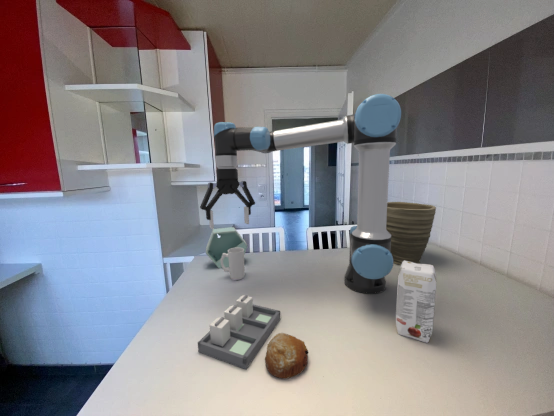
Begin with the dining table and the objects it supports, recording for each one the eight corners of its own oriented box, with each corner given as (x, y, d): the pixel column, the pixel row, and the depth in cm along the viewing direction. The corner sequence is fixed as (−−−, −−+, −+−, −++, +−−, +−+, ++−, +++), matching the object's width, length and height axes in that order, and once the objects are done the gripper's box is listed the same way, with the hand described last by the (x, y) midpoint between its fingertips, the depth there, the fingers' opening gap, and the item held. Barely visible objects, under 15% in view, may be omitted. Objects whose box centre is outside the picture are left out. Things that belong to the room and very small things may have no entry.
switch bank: (280, 318, 71) (280, 310, 71) (246, 369, 53) (245, 359, 53) (241, 308, 77) (240, 301, 77) (198, 351, 59) (197, 342, 59)
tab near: (230, 337, 62) (229, 318, 61) (222, 346, 59) (221, 326, 58) (219, 334, 63) (217, 315, 62) (210, 342, 60) (209, 322, 59)
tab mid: (242, 324, 67) (241, 306, 66) (235, 331, 64) (234, 312, 63) (232, 321, 69) (231, 303, 68) (225, 328, 65) (223, 309, 65)
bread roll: (272, 359, 61) (257, 335, 59) (307, 341, 61) (293, 316, 59) (274, 395, 51) (257, 367, 50) (316, 373, 51) (300, 345, 50)
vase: (442, 273, 100) (440, 206, 93) (381, 270, 111) (375, 209, 104) (432, 249, 121) (430, 192, 115) (382, 248, 132) (377, 196, 125)
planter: (225, 276, 112) (197, 244, 106) (224, 270, 119) (198, 239, 113) (254, 254, 114) (228, 221, 108) (251, 249, 122) (227, 218, 116)
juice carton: (431, 346, 59) (438, 275, 56) (393, 334, 63) (397, 268, 60) (431, 329, 65) (436, 264, 62) (396, 319, 70) (400, 258, 67)
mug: (245, 272, 105) (244, 247, 103) (245, 279, 98) (243, 252, 96) (222, 274, 104) (220, 248, 102) (220, 281, 97) (218, 253, 95)
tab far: (253, 312, 72) (252, 295, 72) (247, 318, 69) (246, 301, 69) (243, 309, 74) (242, 293, 73) (237, 316, 71) (236, 298, 70)
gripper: (254, 168, 94) (255, 220, 97) (188, 168, 81) (193, 228, 85) (262, 167, 87) (264, 223, 91) (192, 168, 75) (197, 233, 78)
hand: (230, 226), depth 88 cm, fingers open, 13 cm apart
